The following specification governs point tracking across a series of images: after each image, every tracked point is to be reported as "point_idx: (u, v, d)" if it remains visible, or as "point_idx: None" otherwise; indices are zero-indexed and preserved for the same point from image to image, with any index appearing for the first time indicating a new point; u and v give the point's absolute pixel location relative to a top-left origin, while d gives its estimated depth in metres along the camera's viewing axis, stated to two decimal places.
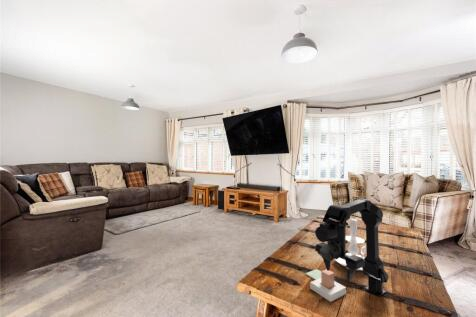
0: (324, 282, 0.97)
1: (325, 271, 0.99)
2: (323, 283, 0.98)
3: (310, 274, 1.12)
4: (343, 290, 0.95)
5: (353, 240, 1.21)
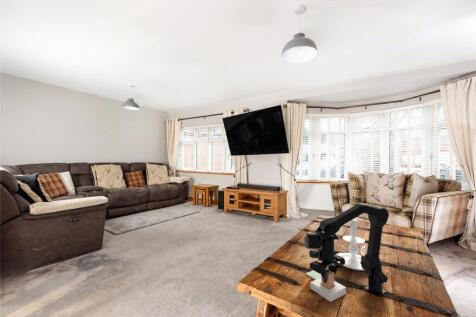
0: None
1: None
2: (323, 283, 0.98)
3: (310, 274, 1.12)
4: (343, 290, 0.95)
5: (353, 240, 1.21)
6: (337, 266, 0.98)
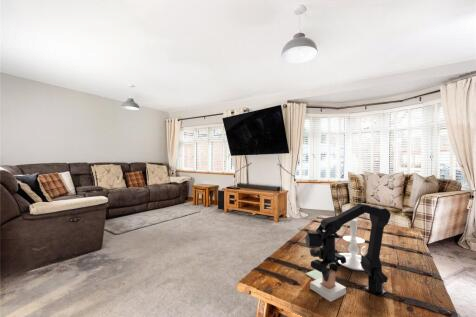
0: None
1: None
2: (324, 282, 0.98)
3: (310, 274, 1.12)
4: (343, 290, 0.95)
5: (353, 240, 1.21)
6: (338, 265, 0.99)
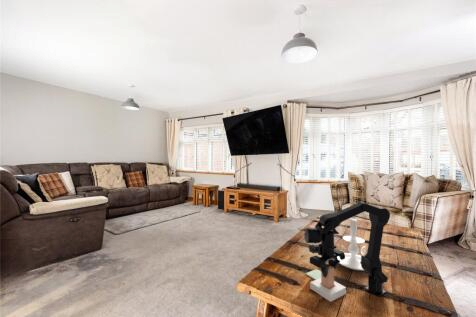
0: (324, 277, 0.97)
1: None
2: (323, 278, 0.98)
3: (310, 274, 1.12)
4: (343, 290, 0.95)
5: (353, 240, 1.21)
6: (337, 261, 0.98)
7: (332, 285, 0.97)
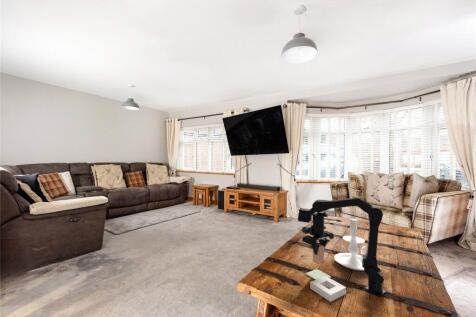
0: None
1: None
2: (314, 255, 1.10)
3: (310, 274, 1.12)
4: (343, 290, 0.95)
5: (353, 240, 1.21)
6: (326, 240, 1.11)
7: (322, 261, 1.09)
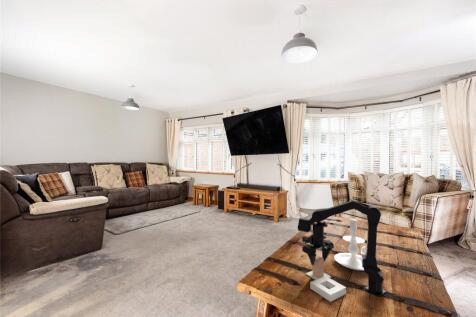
0: (315, 267, 1.10)
1: (316, 257, 1.12)
2: (314, 268, 1.11)
3: (310, 274, 1.12)
4: (343, 290, 0.95)
5: (353, 240, 1.21)
6: (329, 249, 1.13)
7: (322, 274, 1.10)
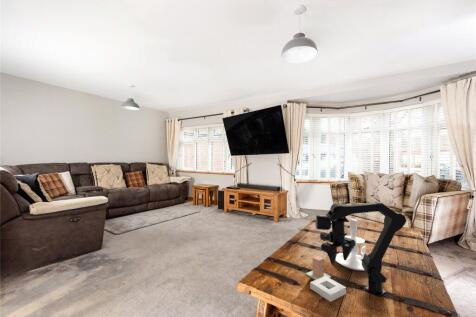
0: (315, 267, 1.10)
1: (316, 257, 1.12)
2: (314, 268, 1.11)
3: (310, 274, 1.12)
4: (343, 290, 0.95)
5: None
6: (351, 246, 1.03)
7: (322, 274, 1.10)
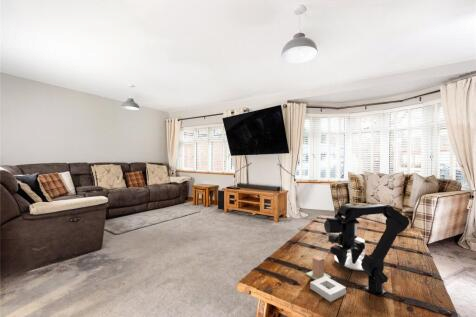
0: (315, 267, 1.10)
1: (316, 257, 1.12)
2: (314, 268, 1.11)
3: (310, 274, 1.12)
4: (343, 290, 0.95)
5: None
6: (360, 249, 0.99)
7: (322, 274, 1.10)
